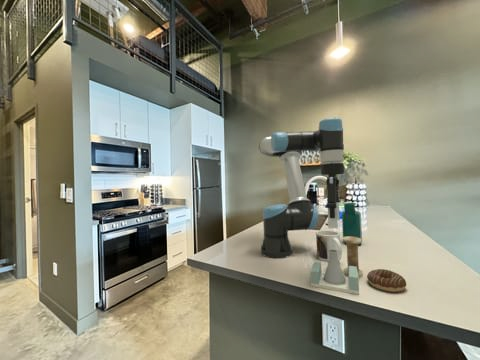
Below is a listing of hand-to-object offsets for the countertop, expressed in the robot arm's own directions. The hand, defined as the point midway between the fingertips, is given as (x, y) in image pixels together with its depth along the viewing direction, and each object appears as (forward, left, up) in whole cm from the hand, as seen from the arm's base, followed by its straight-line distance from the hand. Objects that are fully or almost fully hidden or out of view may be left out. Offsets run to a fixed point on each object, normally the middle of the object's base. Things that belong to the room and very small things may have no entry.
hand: (334, 223), depth 74 cm
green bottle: (+6, +47, -20) cm, 51 cm away
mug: (-4, +21, -20) cm, 29 cm away
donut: (+15, +2, -20) cm, 25 cm away
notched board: (-1, -3, -20) cm, 20 cm away
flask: (-1, -3, -19) cm, 19 cm away
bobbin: (+5, +7, -20) cm, 22 cm away
